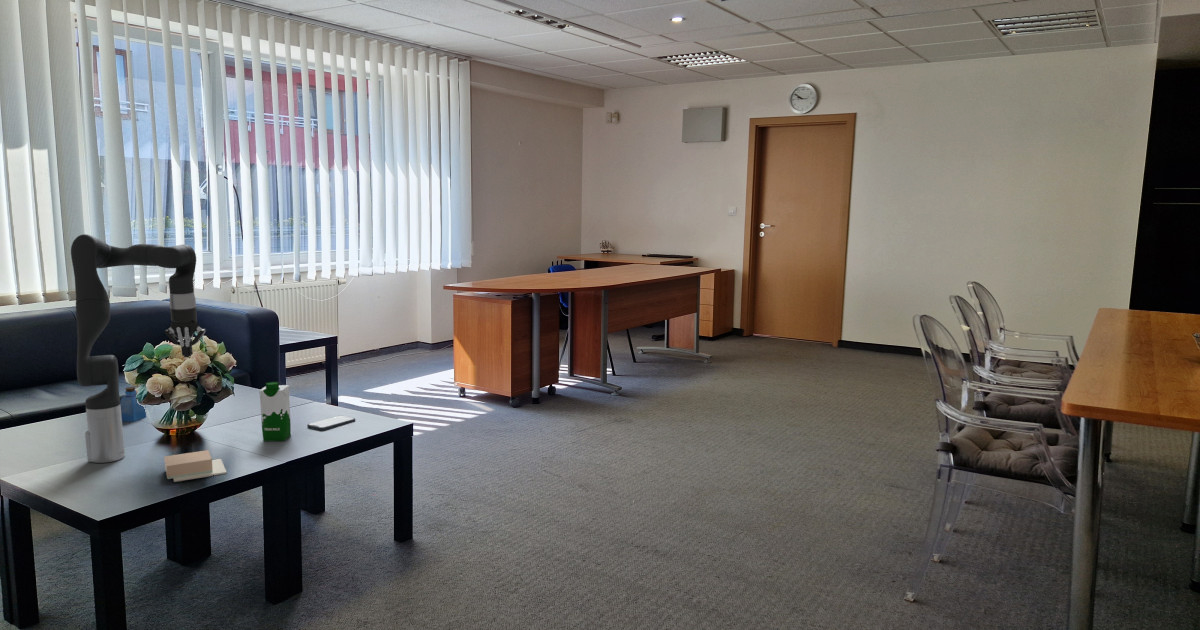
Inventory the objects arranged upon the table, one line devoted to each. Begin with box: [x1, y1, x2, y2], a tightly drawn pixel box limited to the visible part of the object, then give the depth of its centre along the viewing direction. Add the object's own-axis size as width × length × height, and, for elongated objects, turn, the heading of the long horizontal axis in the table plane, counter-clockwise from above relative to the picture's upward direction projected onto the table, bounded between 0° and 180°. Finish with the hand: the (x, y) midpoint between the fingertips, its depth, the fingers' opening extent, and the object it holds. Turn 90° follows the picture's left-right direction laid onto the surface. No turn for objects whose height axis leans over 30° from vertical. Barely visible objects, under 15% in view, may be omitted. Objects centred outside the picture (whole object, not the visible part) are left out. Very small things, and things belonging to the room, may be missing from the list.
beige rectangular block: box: [163, 449, 213, 480], centre depth 236 cm, size 4×10×12 cm
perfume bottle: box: [120, 386, 147, 423], centre depth 292 cm, size 6×6×12 cm
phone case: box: [306, 415, 356, 432], centre depth 288 cm, size 9×2×16 cm
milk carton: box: [259, 381, 292, 442], centre depth 269 cm, size 9×9×20 cm
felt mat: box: [172, 458, 228, 483], centre depth 238 cm, size 14×14×1 cm
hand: (187, 356), depth 260 cm, fingers closed
